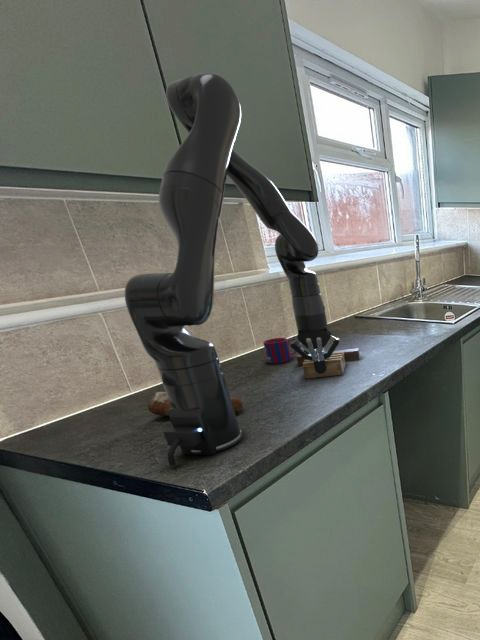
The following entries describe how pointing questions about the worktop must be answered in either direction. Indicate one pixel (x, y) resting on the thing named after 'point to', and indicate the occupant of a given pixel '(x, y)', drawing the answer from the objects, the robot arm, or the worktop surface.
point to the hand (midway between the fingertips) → (321, 372)
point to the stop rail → (348, 354)
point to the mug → (278, 350)
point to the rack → (333, 366)
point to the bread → (162, 404)
